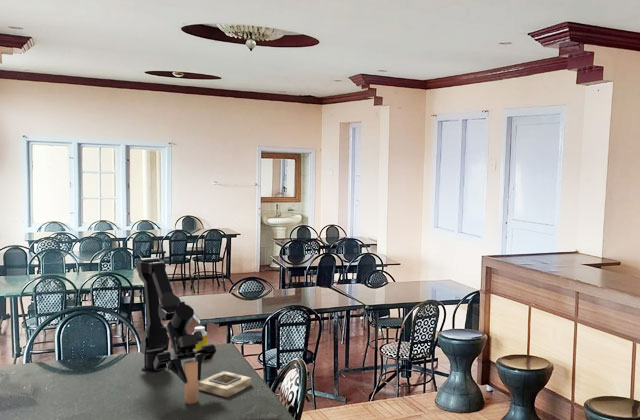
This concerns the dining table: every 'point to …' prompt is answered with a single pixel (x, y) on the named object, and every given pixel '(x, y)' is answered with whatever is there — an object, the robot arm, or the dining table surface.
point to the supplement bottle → (204, 334)
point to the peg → (191, 382)
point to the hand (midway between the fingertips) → (192, 381)
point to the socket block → (225, 383)
